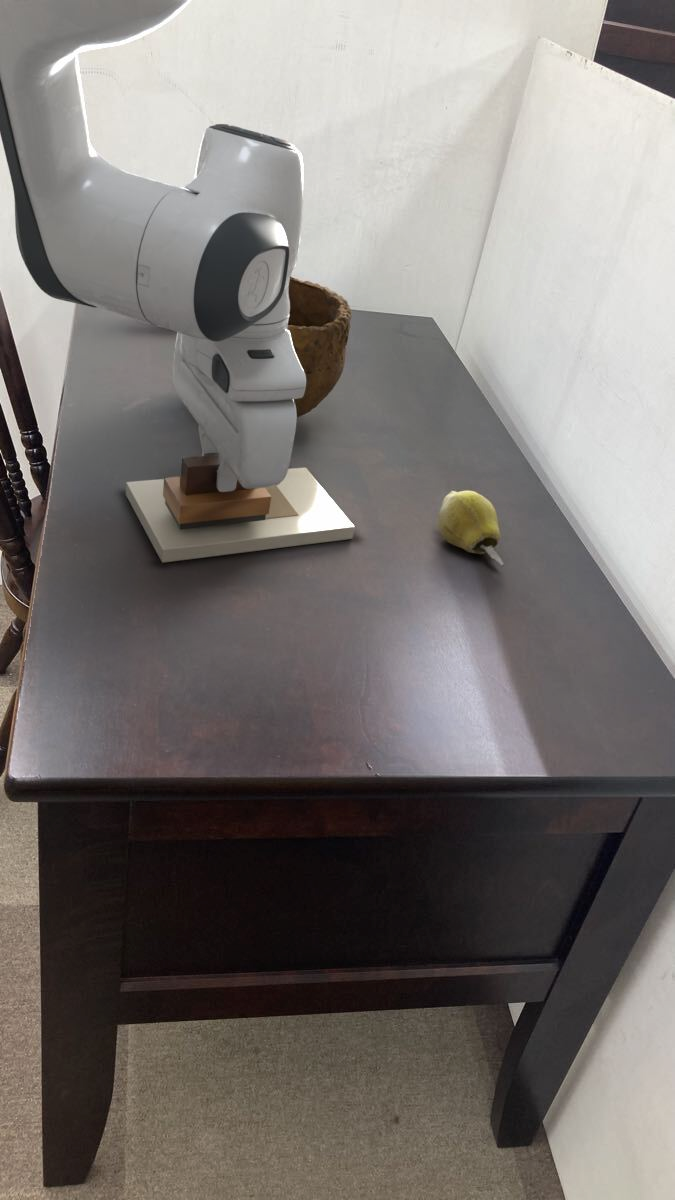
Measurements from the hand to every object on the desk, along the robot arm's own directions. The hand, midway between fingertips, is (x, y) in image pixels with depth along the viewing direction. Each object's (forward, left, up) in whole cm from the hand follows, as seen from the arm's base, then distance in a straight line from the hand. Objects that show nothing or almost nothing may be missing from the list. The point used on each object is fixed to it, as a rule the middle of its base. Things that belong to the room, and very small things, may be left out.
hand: (218, 479), depth 84 cm
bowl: (+15, +24, -6) cm, 29 cm away
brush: (0, 0, -4) cm, 4 cm away
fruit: (+26, -8, -6) cm, 28 cm away
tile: (+4, +2, -6) cm, 7 cm away
